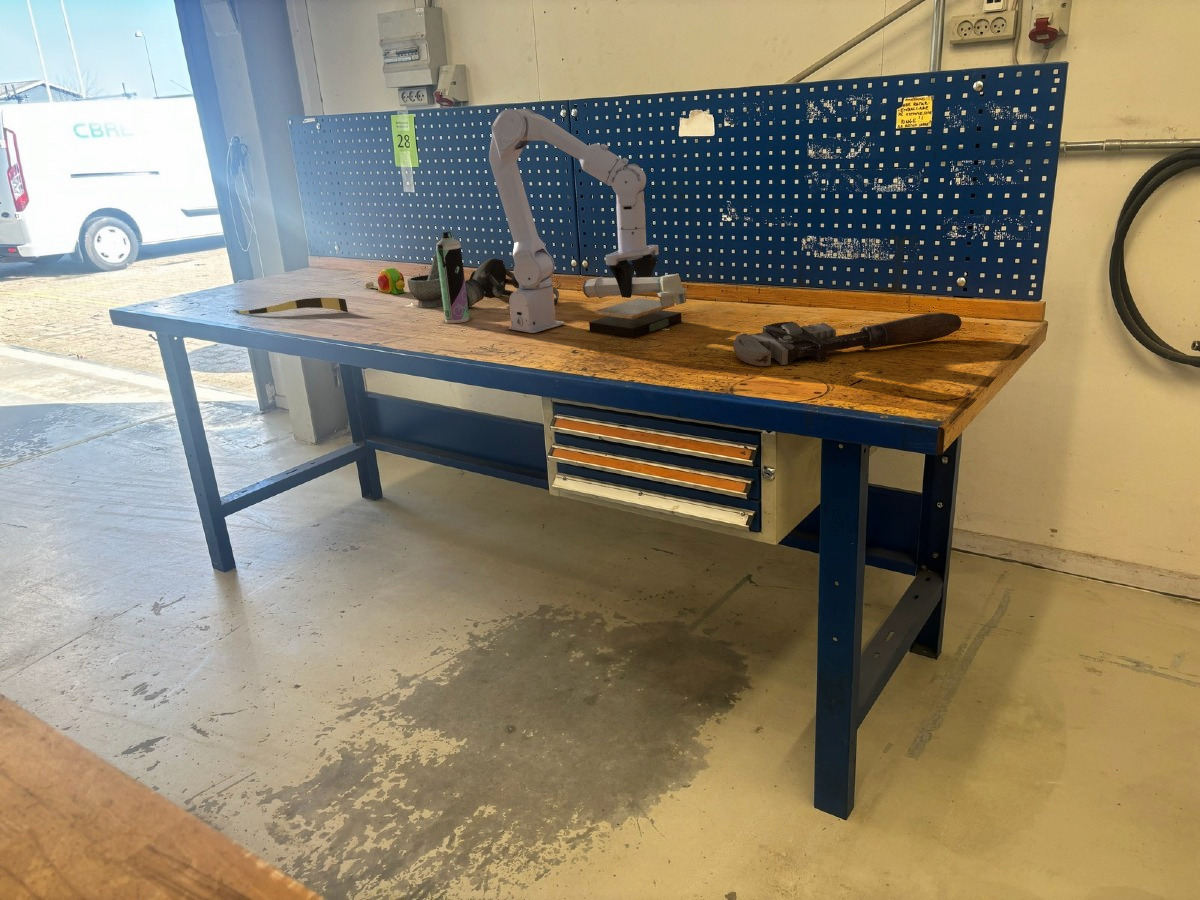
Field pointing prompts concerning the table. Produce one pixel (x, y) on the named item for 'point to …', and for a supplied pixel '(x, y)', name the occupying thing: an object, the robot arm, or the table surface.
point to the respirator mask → (491, 282)
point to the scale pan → (632, 308)
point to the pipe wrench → (838, 338)
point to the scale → (635, 324)
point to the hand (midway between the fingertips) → (634, 294)
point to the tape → (303, 305)
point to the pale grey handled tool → (640, 288)
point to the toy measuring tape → (389, 281)
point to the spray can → (452, 279)
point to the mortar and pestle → (427, 287)
